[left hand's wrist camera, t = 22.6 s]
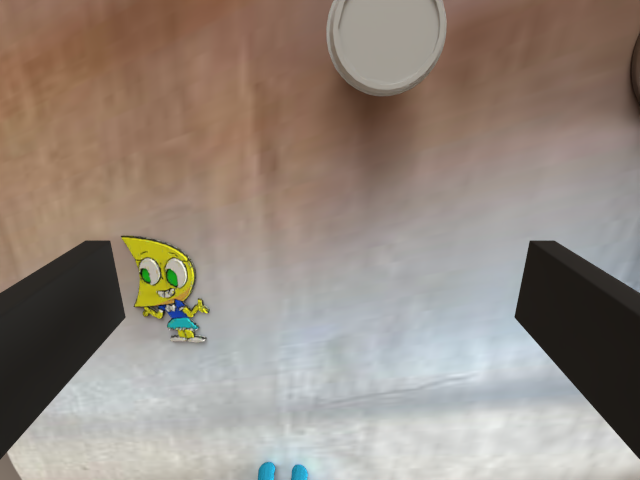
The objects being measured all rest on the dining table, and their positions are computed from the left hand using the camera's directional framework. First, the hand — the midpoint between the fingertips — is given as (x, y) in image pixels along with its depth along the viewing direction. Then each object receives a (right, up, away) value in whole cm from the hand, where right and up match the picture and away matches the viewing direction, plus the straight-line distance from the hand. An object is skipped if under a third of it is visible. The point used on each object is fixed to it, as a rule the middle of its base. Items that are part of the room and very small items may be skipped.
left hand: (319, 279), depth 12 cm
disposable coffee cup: (+5, +22, +29) cm, 36 cm away
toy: (-20, -5, +39) cm, 44 cm away
